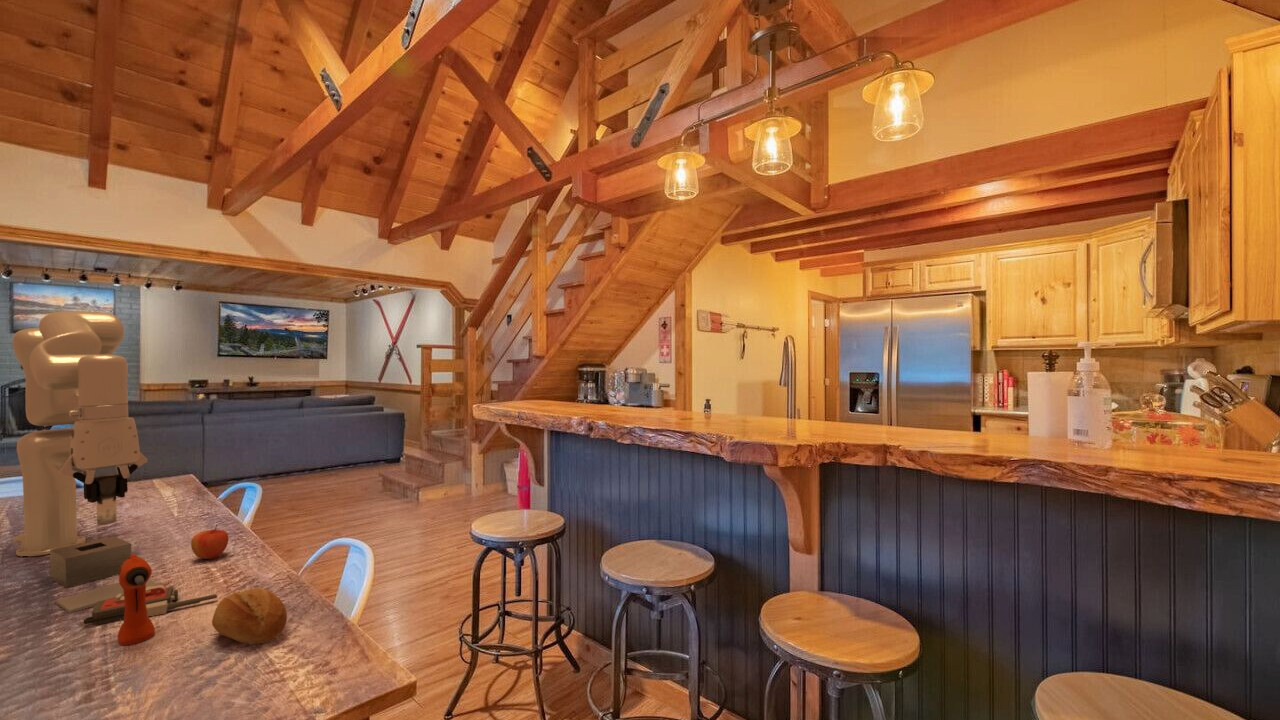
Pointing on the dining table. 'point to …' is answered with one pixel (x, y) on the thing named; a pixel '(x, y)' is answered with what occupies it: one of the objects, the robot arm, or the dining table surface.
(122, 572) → the toy drill
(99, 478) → the brown beige cylinder
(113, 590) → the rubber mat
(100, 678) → the dining table surface
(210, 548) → the apple
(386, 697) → the dining table surface
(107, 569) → the block
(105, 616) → the walkie-talkie
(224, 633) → the bread roll
